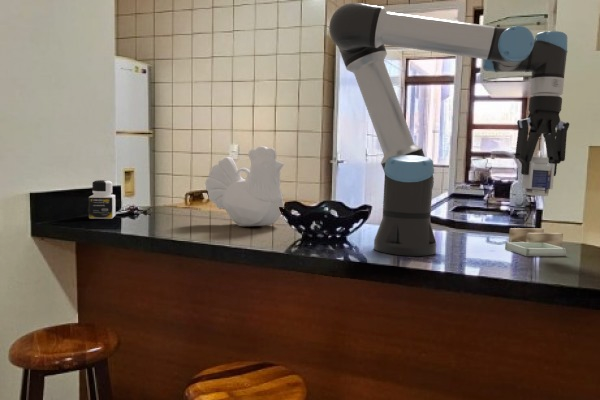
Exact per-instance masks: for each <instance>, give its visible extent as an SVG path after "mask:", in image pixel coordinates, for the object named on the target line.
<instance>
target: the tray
mask: <svg viewBox="0 0 600 400" xmlns="http://www.w3.org/2000/svg"><path fill="white" fill-rule="evenodd" d="M504 250H507V251H510V252H512V253H515V254H518V255H522V256H525V257H566V254H567V248H565V247H563V246H562V247H558V246H554V245H551V244H547V243H544V242H509V241H507V242H505V243H504Z"/></svg>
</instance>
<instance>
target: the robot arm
mask: <svg viewBox="0 0 600 400" xmlns="http://www.w3.org/2000/svg"><path fill="white" fill-rule="evenodd" d="M328 26H329V27H328V31H329V34H330V38H331V40H332V42H333V43H334V44H335V45H336V46H337V48H338V51H339V52H340V56H341V58H342V61H343V64H344V66H345V69H346V71H348V72H351V73H353V75H354V77H355V80H356V83H357V85H358V87H359V90H360V91H359V92H360V93H361V95H362V99H363V102H364V105H365V107H366V110H367V112H368V115H369V117H370V118H369V119H370V120H371V124H372V126H373V129H374V132H375V135H376V137H377V140H378V142H379V145H380V147H381V152H382V154H383V158H382V159H381V162H380V164H381V165H380V166H381V167H382V170H383V173H384V184H383V202H382V219H381V221H380V223H379V227H378V229H377V232H376V235H375V237H374V239H373V240H374V241H373V242H374V244H373V249H374V250H375V251H378V252H380V253H385V254H390V255H394V256H395V255H397V256H406V257H407V256H408V257H409V256H411V257H414V256H415V257H422V256H432V255H435V254H436V253H437V242H436V241H437V240H436V239H435V238H436V237H435V234H434V230H433V227H432V221H431V213H432V201H433V200H432V199H433V198H432V197H433V188H434V182H435V181H434V180H435V179H434V174H435V168H434V161H433V159H431V158H430V157H428V156H426V155H425V153H424V150H423V148H422V147H421V146H419V145H416V143H415V142H414V140H413V137H412V135H411V131H410V128H409V126H408V124H407V121H406V118H405V116H404V115H405V114H404V113H403V110H402V107H401V104H400V101H399V99H398V97H397V93H396V91H395V88H394V85H393V82H392V80H391V77H390V74H389V72H388V69H387V67H386V64H385V58H386V56H387V55H388V54H387V49H386V47H385V46H389V47H391V46H392V47H399V48H405V49H410V50H411V49H412V50H419V51H425V52H433V53H438V54H439V53H440V54H445V55H446V54H447V55H453V56H459V57H460V56H462V57H466V58H467V57H468V58H472V59H473V58H474V59H481V60H482V69H483V70H484V71H485V72H492V73H502V72H503V73H508V72H509V73H511V72H512V73H519V72H520V73H522V72H523V73H531V77H530V78H531V79H530V87H529V95H531V96H530V97H529V100H528V111H529V112H528V116H527V118H523V119H518V120H517V121H516V123H517V128H518V131H517V138H516V145H515V146H516V147H515V155H514V157H515V159H516V160H519V162H521V170H520V171H521V172H520V173H521V175H523V176H522V184H521V188H524V189H526V188H532V177H533V167H534V163H532V162H531V160H532V157H534V153H535V150H536V148H537V145H538V142H539V139H540V137H541V136H543V138H544V141H545V147H546V148H545V149H546V155H547V157H546V158H549V162H548V163H547V166H549V167H550V168H551V173H550V183H549V190H553V189H554V188H553V187H554V177H556V175H557V169H558V168H557V167H558V164H560V163H561V162H564V161H566V147H567V132H568V131H569V128H570V123H569V122H567V121H566V122H565V121H562V120H561V118H560V113H561V111H562V105H563V98H562V95H563V94H564V87H565V86H564V85H565V84H564V82H565V73H566V72H565V71H566V64H567V56H568V35H567V34H566V33H565V32H563V31H558V30H551V31H550V30H549V31H542V32H538V33H537V34H535V37H534V35H533V32H532V31H531V30H530V29H529V28H527V27H526V26H524V25H523V26H522V25H514V26H510V27H508V28H507V27H502V26H499V27H498V26H491V25H486V24H477V23H469V22H463V21H455V20H454V21H453V20H450V19H449V20H448V19H440V18H435V17H428V16H427V17H426V16H420V15H412V14H406V13H405V14H404V13H397V12H391V11H388V10H387V9H386V8H385V6H378V5H371V4H366V3H360V2H359V3H358V2H350V3H345V4H343V5H341V6H340V7H338V8H337V9H336V10H335V11H334V13H333V14H332V16H331V18H330V20H329V24H328ZM529 127H530V128H529Z"/></svg>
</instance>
